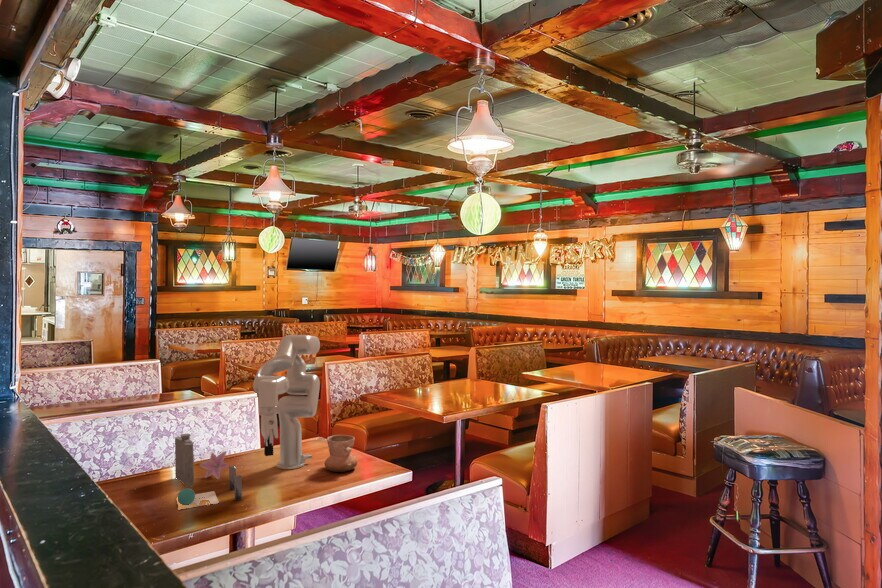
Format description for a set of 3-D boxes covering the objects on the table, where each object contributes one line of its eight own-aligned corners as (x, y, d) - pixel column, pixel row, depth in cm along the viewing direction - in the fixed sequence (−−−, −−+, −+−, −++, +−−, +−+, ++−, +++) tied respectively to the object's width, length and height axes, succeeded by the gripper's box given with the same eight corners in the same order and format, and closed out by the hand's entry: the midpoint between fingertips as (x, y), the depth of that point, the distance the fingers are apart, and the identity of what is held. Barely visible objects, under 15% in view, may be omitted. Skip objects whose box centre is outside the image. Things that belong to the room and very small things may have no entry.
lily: (198, 477, 247) (193, 461, 242) (221, 460, 255) (217, 445, 250) (215, 490, 241) (211, 474, 236) (238, 472, 249) (234, 457, 244)
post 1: (235, 487, 231) (235, 465, 231) (236, 489, 229) (236, 467, 228) (228, 488, 230) (228, 466, 229) (229, 490, 227) (229, 468, 227)
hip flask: (174, 478, 242) (173, 431, 242) (184, 476, 245) (183, 429, 245) (186, 488, 230) (186, 439, 230) (197, 485, 233) (196, 437, 233)
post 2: (241, 497, 219) (240, 474, 219) (242, 500, 217) (242, 476, 217) (234, 499, 218) (233, 475, 218) (235, 501, 216) (234, 477, 216)
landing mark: (214, 491, 226) (214, 491, 226) (218, 503, 214) (218, 502, 214) (175, 498, 219) (175, 497, 219) (178, 510, 207) (178, 510, 207)
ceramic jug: (364, 471, 250) (364, 438, 250) (334, 477, 242) (334, 444, 242) (345, 461, 265) (345, 431, 265) (316, 467, 256) (316, 436, 256)
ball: (177, 504, 214) (194, 500, 217) (179, 509, 209) (196, 504, 212) (175, 488, 214) (192, 484, 217) (177, 492, 209) (195, 488, 212)
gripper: (282, 412, 224) (282, 458, 225) (273, 405, 237) (274, 449, 238) (262, 414, 221) (263, 461, 221) (255, 407, 234) (255, 451, 234)
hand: (268, 455), depth 229 cm, fingers closed
